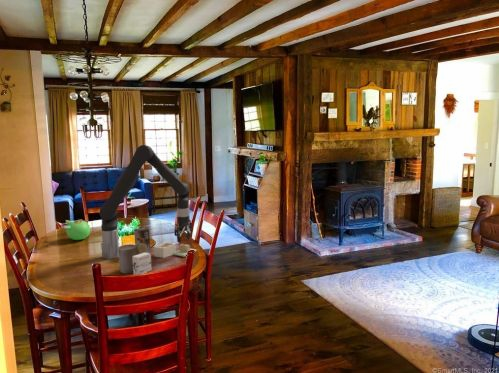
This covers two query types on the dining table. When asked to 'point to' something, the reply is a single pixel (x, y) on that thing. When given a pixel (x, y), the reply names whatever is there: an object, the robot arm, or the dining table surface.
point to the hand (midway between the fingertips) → (184, 240)
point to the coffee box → (142, 240)
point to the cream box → (164, 249)
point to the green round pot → (77, 229)
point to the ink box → (142, 263)
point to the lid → (183, 250)
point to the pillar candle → (126, 258)
